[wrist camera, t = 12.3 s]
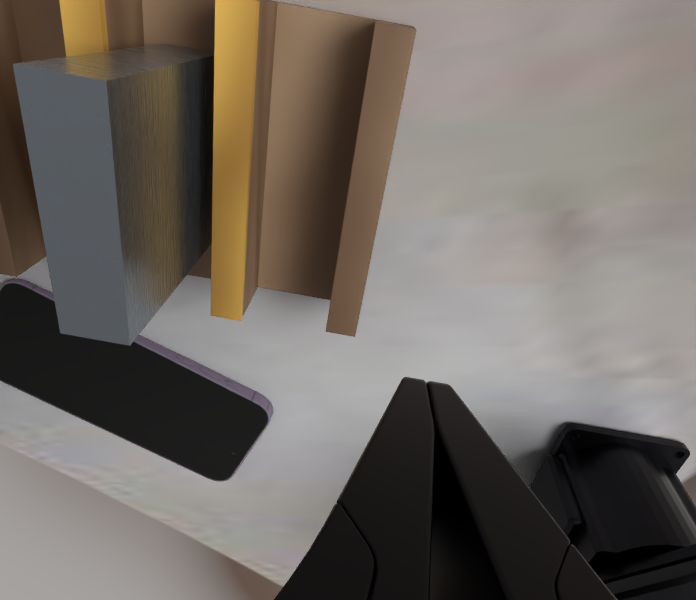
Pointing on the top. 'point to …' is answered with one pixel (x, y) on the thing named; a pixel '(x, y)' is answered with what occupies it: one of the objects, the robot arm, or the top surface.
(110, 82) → the block
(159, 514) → the top surface
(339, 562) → the robot arm
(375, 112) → the rack
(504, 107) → the top surface
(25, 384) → the smartphone
